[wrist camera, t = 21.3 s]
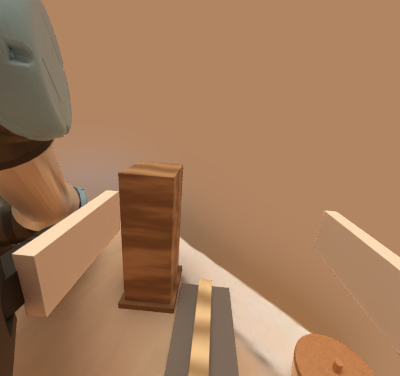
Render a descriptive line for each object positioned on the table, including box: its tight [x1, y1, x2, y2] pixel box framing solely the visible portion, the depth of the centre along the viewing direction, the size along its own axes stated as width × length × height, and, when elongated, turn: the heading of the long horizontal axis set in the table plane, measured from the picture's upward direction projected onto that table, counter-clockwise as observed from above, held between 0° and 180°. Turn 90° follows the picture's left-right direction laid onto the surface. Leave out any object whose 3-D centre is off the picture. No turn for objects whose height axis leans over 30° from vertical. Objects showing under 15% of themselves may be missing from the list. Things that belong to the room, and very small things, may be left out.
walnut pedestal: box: [118, 161, 183, 313], centre depth 46 cm, size 14×12×30 cm
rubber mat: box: [165, 283, 239, 376], centre depth 40 cm, size 24×12×1 cm, turn 177°
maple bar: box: [188, 279, 212, 376], centre depth 37 cm, size 26×3×3 cm, turn 175°
